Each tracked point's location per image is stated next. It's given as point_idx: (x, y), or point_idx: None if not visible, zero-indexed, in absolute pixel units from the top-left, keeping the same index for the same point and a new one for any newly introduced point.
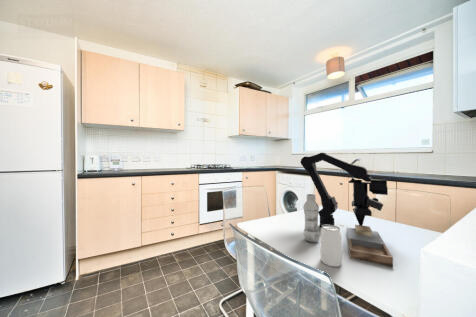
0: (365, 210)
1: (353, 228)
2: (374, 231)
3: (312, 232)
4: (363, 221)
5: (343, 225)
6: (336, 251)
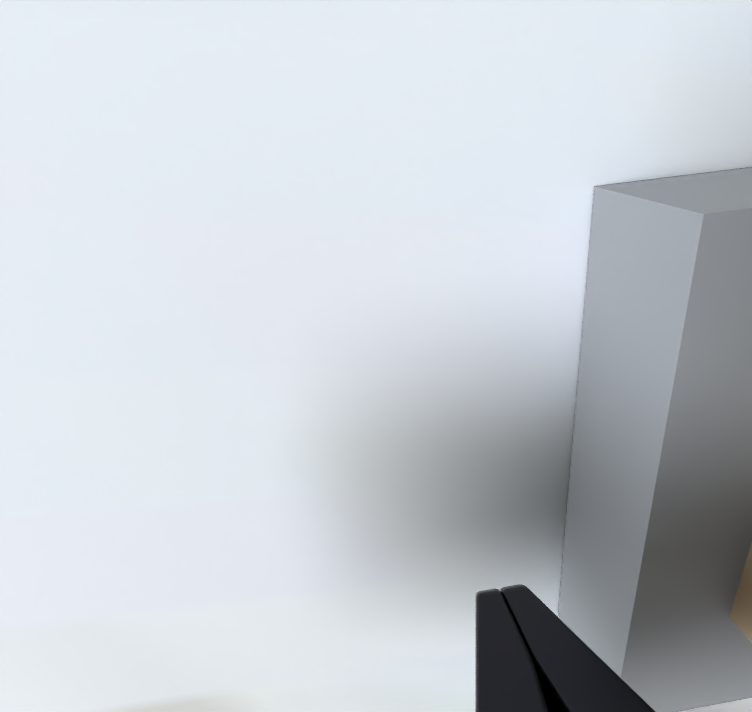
0: None
1: (639, 648)
2: (712, 296)
3: None
4: (645, 705)
5: (144, 707)
6: None
